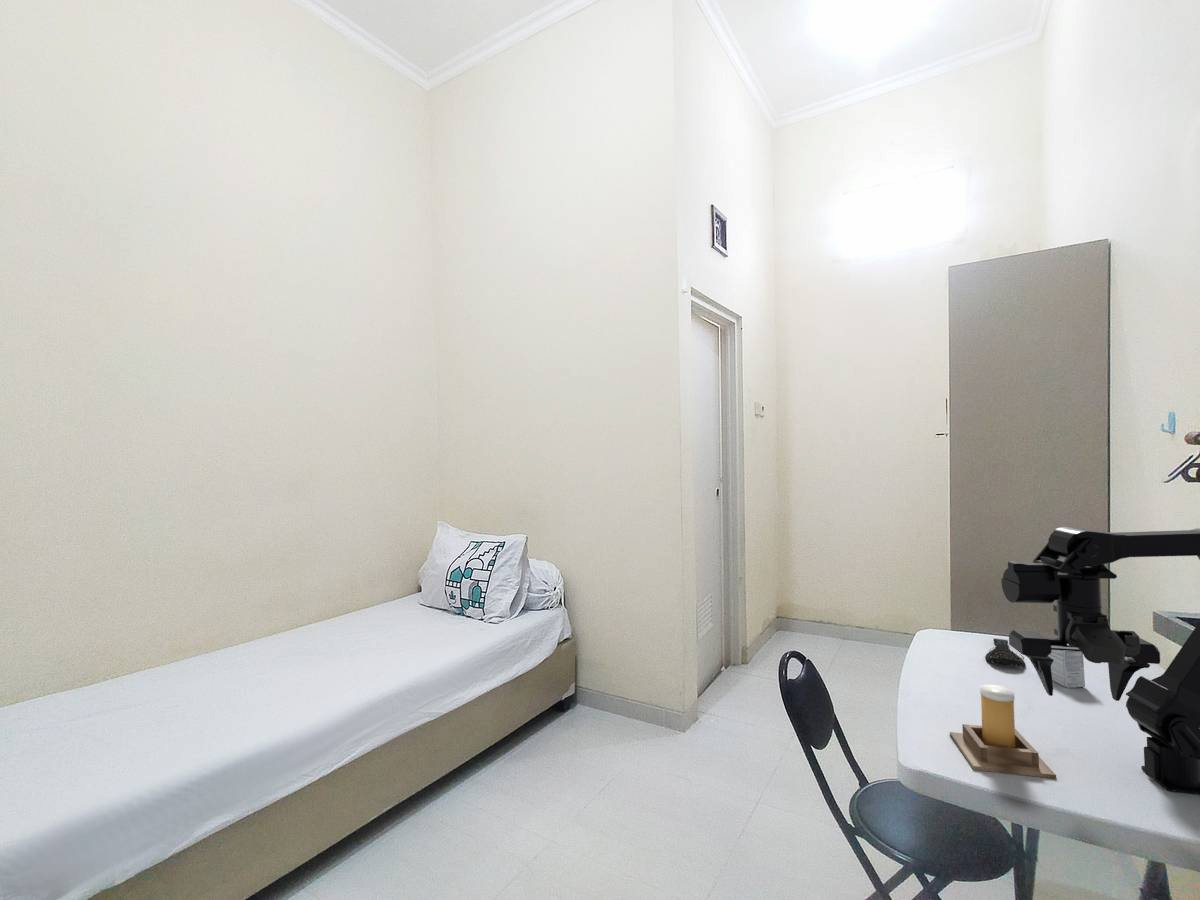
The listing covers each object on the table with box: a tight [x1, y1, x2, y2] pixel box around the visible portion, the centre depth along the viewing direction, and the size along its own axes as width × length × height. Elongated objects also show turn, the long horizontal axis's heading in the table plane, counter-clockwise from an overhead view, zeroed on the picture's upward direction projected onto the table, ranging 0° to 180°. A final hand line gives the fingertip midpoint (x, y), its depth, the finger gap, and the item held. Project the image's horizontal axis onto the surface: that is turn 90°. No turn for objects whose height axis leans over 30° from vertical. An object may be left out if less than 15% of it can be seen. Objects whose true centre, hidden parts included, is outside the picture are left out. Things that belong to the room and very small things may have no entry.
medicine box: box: [1048, 644, 1086, 689], centre depth 129 cm, size 8×4×9 cm, turn 179°
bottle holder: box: [949, 723, 1057, 779], centre depth 99 cm, size 12×12×3 cm
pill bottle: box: [979, 683, 1016, 748], centre depth 99 cm, size 5×5×11 cm
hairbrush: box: [984, 638, 1026, 667], centre depth 147 cm, size 8×4×25 cm
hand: (1082, 697), depth 92 cm, fingers open, 9 cm apart
